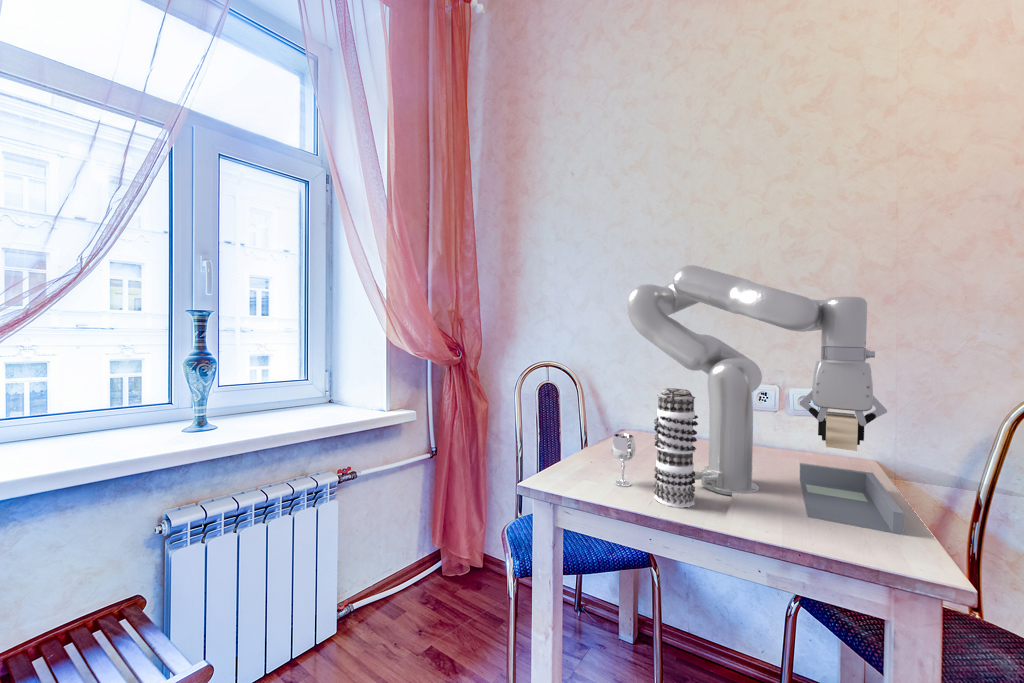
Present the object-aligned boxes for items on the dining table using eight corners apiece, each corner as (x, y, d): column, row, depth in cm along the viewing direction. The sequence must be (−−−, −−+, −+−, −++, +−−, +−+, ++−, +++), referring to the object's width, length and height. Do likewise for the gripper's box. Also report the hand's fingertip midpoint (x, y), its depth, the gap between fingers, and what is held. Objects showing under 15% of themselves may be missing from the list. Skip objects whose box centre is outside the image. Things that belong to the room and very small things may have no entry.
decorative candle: (705, 507, 93) (708, 392, 93) (667, 510, 91) (669, 392, 91) (680, 492, 102) (682, 386, 102) (645, 494, 100) (647, 387, 100)
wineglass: (609, 485, 106) (610, 437, 106) (612, 478, 111) (613, 432, 111) (633, 489, 104) (634, 439, 104) (636, 481, 109) (636, 434, 109)
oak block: (857, 451, 86) (858, 421, 86) (826, 446, 89) (826, 417, 88) (853, 441, 94) (854, 413, 94) (825, 437, 97) (825, 411, 97)
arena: (903, 540, 79) (904, 513, 79) (807, 521, 86) (808, 497, 86) (872, 493, 103) (872, 472, 103) (799, 482, 110) (799, 462, 110)
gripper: (893, 356, 89) (890, 444, 89) (795, 353, 99) (792, 432, 99) (899, 358, 83) (896, 452, 83) (793, 354, 93) (791, 438, 93)
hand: (840, 440), depth 91 cm, fingers closed on oak block, 5 cm apart
